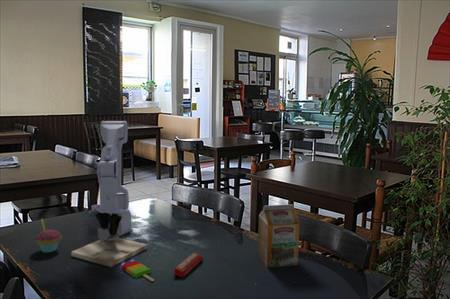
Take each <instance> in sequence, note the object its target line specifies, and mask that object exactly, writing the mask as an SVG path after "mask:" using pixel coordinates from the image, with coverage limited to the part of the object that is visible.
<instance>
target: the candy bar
mask: <svg viewBox="0 0 450 299" xmlns="http://www.w3.org/2000/svg"><path fill="white" fill-rule="evenodd" d="M202 259H203V255H201V254H200V253H198V252H193V253H191V254H190V255H189V256H188V257H186V258H185V259H184V260H183V261H182V262H181V263H179V264H178V265H177V266H176V267H175V268H174V269H173V274H174V275H175V276H177V277H180V278H184V277H186V275H188V274H189V273H190V272H191V271H192V270H193V269H194V268H195V267H196V266H197V265H199V264H200V263H201V261H202Z"/></svg>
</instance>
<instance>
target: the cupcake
mask: <svg viewBox="0 0 450 299" xmlns="http://www.w3.org/2000/svg"><path fill="white" fill-rule="evenodd" d="M40 221H41V225H42V231H41V232H38V233H37V234H36V236H35V238H34V240H35V243H37V244H38V246H39V248H40V251H41V252H42V253H52V252H53V253H54V252H55V251H56V250H57V248H58V244H59V242H60V241H62V239H63V236H62V233H61V232H60V231H59V230H56V229H48V228H47V229H46V226H45V221H44V219H43V218H42V217H41V220H40Z"/></svg>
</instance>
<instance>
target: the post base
mask: <svg viewBox="0 0 450 299" xmlns="http://www.w3.org/2000/svg"><path fill="white" fill-rule="evenodd" d="M147 249H148V243H147V244H146V243H144V242H143V243H142V242H138V241H133V240H130V239H126V238H120V237H119V239H118V240H117V241H113V242H100V239H98V240H96V241H94V242H91V243H88V244H86V245H85V246H81V247H79V248H77V249H74V250H72V251H71V257H74V258H78V259H82V260H85V261H88V262H92V263H96V264H98V265H102V266H106V267H109V268H113V267H114V266H116V265H118V264H120V263H122V262H125V261H126V260H128V259H131V258H132V257H134V256H136V255H137V254H139V253H141V252H143V251H145V250H147Z"/></svg>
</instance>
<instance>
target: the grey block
mask: <svg viewBox="0 0 450 299" xmlns="http://www.w3.org/2000/svg"><path fill="white" fill-rule="evenodd" d="M120 233H121V223H119V226H118V230H117V234H115V235H113V236H112V235H111V233H110V224H107V225H104V226H102V227H101V226H99V227H97V239H98V240H100V242H113V241H117V240H118V239H119V238H120V236H119V234H120Z"/></svg>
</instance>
